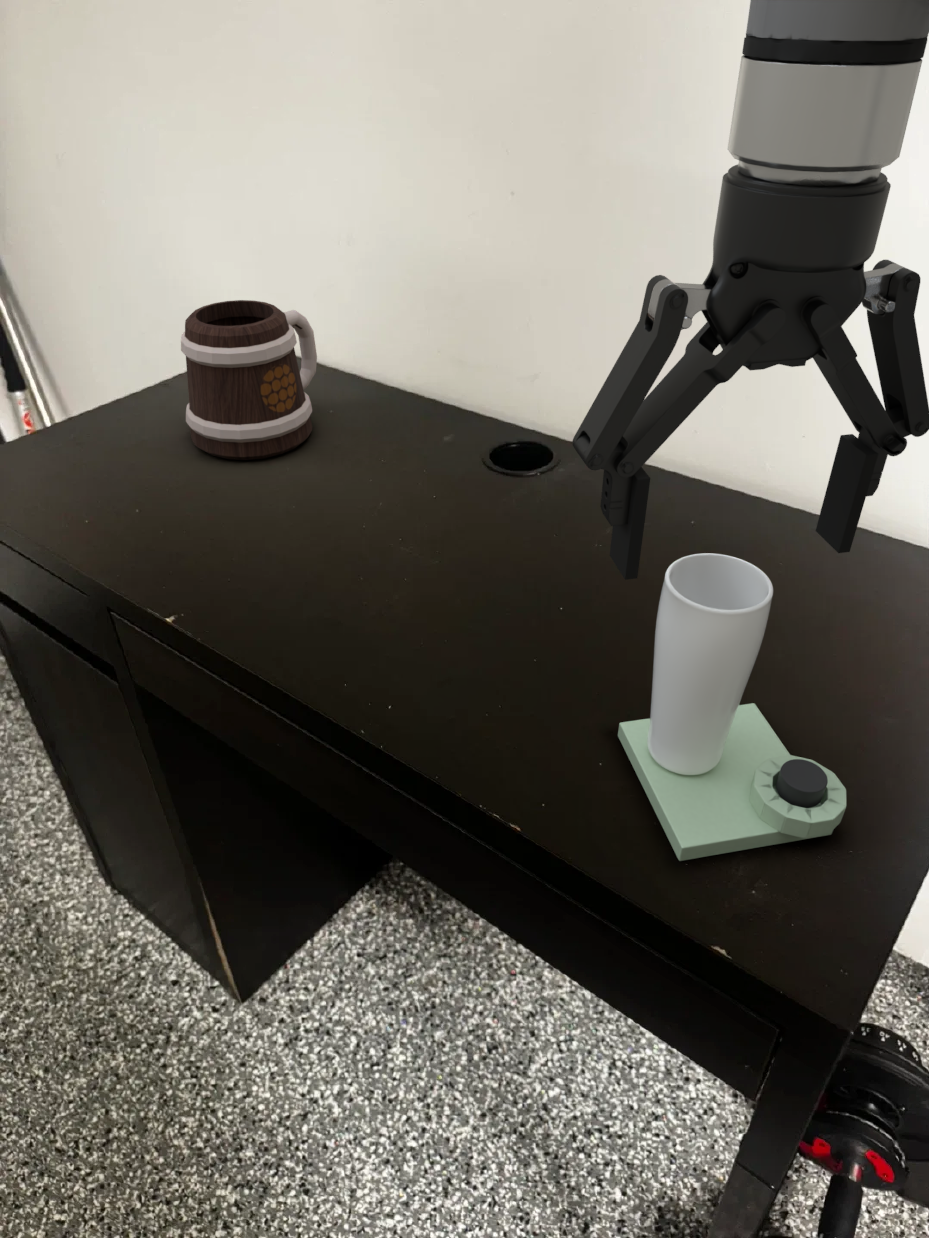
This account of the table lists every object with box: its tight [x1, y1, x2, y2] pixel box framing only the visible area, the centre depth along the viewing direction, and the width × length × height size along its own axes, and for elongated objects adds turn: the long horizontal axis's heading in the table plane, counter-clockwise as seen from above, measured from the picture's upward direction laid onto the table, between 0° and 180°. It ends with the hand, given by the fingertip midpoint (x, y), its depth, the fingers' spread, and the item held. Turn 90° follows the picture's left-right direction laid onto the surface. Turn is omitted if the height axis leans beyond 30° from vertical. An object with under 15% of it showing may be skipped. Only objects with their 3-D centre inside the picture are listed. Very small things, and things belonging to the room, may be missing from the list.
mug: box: [180, 299, 318, 461], centre depth 107 cm, size 20×15×15 cm
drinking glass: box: [647, 552, 774, 775], centre depth 60 cm, size 7×7×15 cm
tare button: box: [776, 759, 828, 808], centre depth 59 cm, size 3×3×2 cm
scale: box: [617, 702, 847, 862], centre depth 63 cm, size 13×12×3 cm
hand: (729, 554), depth 54 cm, fingers open, 13 cm apart
